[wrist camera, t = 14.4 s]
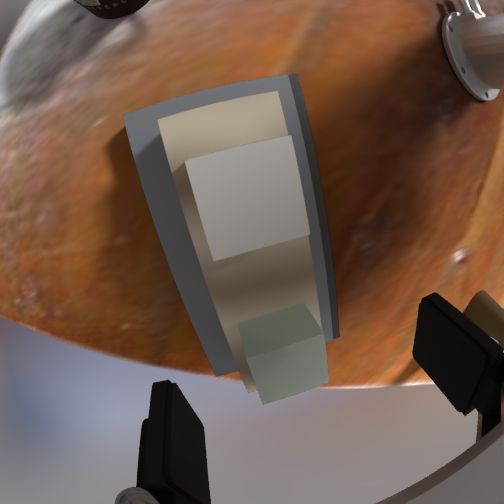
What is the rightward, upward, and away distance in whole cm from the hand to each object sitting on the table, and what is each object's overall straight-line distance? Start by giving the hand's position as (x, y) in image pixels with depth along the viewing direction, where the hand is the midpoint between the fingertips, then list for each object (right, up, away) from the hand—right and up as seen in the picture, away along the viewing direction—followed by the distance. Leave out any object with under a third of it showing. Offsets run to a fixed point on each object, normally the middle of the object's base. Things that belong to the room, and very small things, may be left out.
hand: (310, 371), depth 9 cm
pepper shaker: (+35, -5, +26) cm, 44 cm away
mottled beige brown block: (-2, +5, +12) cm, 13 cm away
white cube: (-3, +8, +6) cm, 10 cm away
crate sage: (0, -2, +10) cm, 10 cm away
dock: (-3, +6, +15) cm, 16 cm away
